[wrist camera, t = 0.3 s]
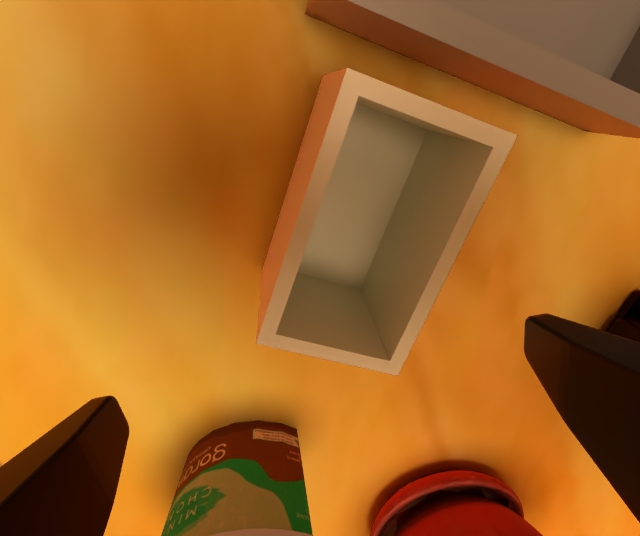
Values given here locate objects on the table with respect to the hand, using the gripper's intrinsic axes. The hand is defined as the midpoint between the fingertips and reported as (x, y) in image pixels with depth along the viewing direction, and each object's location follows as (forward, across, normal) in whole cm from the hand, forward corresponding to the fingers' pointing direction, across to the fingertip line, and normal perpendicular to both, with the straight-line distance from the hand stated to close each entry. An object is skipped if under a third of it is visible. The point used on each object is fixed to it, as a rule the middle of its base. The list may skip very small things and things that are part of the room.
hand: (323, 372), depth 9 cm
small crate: (+13, -2, 0) cm, 13 cm away
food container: (+13, +9, +15) cm, 22 cm away
